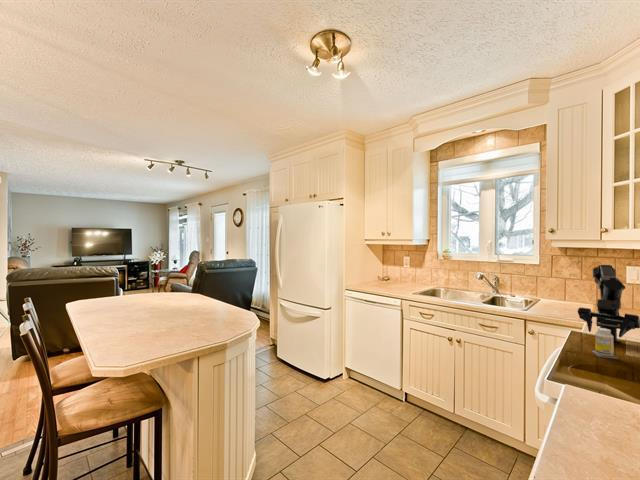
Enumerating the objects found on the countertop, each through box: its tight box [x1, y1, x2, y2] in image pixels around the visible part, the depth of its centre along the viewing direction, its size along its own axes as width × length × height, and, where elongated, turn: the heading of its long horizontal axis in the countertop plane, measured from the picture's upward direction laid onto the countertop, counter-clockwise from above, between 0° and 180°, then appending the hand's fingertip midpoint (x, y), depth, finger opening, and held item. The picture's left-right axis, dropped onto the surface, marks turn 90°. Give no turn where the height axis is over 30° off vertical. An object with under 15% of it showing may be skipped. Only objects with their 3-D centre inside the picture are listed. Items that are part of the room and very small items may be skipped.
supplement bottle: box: [594, 327, 615, 356], centre depth 123 cm, size 6×6×10 cm
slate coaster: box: [591, 350, 619, 360], centre depth 123 cm, size 6×6×1 cm
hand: (604, 334), depth 123 cm, fingers open, 9 cm apart
